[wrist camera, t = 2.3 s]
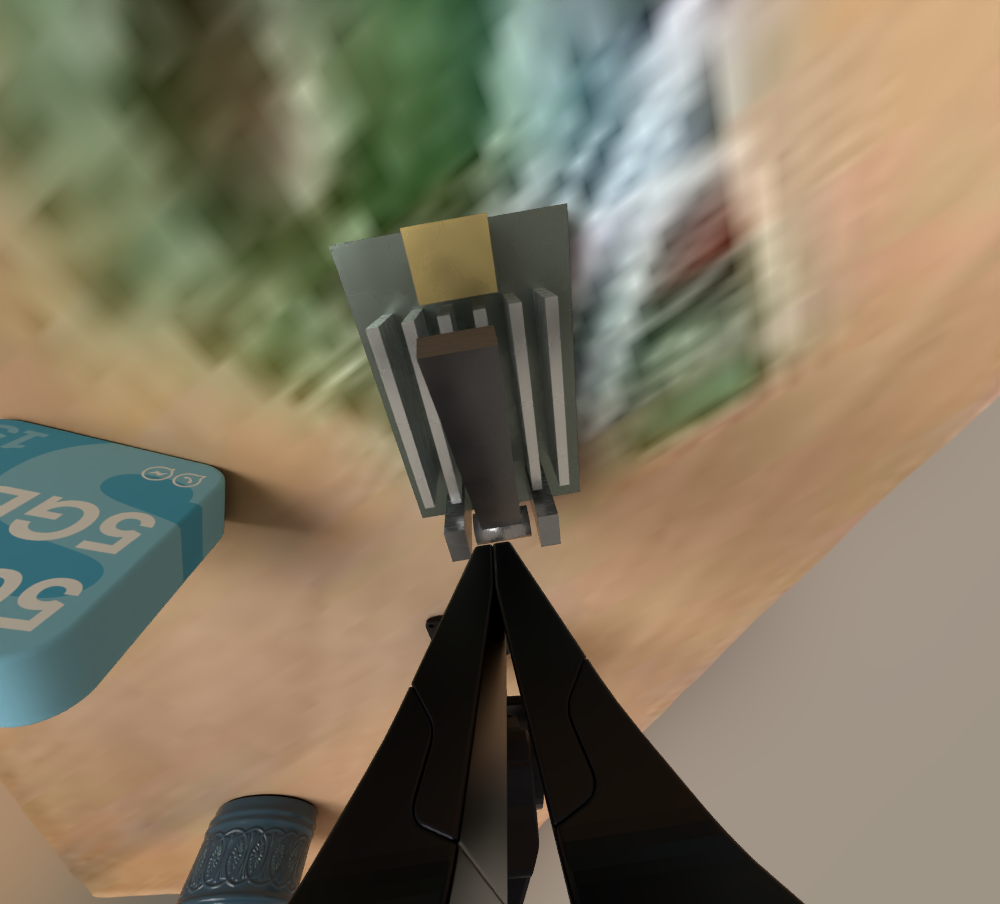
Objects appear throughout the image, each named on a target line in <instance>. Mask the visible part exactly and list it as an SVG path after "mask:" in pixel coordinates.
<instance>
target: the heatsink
mask: <svg viewBox="0 0 1000 904" xmlns="http://www.w3.org/2000/svg"><path fill="white" fill-rule="evenodd" d="M400 230H401V233H396V234H391V235H385V236H379V237H374V238H368V239H363V240H357V241H351V242H346V243H340V244H334V245H329V247H330V250H331V253H332V256H333V259H334V262H335V265H336V268H337V271H338V273H339V276H340V279H341V282H342V285H343V288H344V291H345V294H346V297H347V300H348V302H349V305H350V308H351V311H352V314H353V317H354V320H355V323H356V326H357V329H358V331H359V334H360V337H361V340H362V343H363V346H364V349H365V352H366V355H367V358H368V361H369V363H370V366H371V369H372V372H373V375H374V378H375V381H376V384H377V387H378V390H379V392H380V395H381V398H382V401H383V404H384V407H385V410H386V413H387V416H388V419H389V421H390V424H391V427H392V430H393V433H394V436H395V439H396V442H397V445H398V448H399V451H400V453H401V456H402V459H403V462H404V465H405V468H406V471H407V474H408V477H409V480H410V482H411V485H412V488H413V491H414V494H415V497H416V500H417V503H418V506H419V509H420V511H421V514H422V517H423V518H426V517H432V516H438V515H444V514H445V526H444V535H445V538H446V542H447V545H448V548H449V551H450V554H451V557H452V561H453V562H454V561H460V560H466V559H470V557H471V555H472V513H471V510H473V509H474V508H473V505H472V502H471V500H470V497H469V495H468V492H467V489H466V487H465V484H464V482H463V479H462V476H461V474H460V471H459V469H458V466H457V463H456V461H455V458H454V456H453V453H452V450H451V448H450V445H449V443H448V440H447V437H446V435H445V432H444V430H443V427H442V424H441V422H440V419H439V417H438V414H437V411H436V409H435V406H434V404H433V401H432V398H431V396H430V393H429V391H428V388H427V385H426V383H425V380H424V378H423V375H422V372H421V370H420V367H419V364H418V362H417V359H416V338H421V337H426V336H432V335H438V334H444V333H449V332H455V331H461V330H467V329H472V328H478V327H484V326H490V325H494V329H495V334H496V339H497V344H498V351H499V359H500V366H501V373H502V381H503V388H504V396H505V403H506V410H507V418H508V425H509V433H510V440H511V448H512V455H513V462H514V470H515V477H516V485H517V492H518V499H519V502H521V501H527V500H530V502H531V506H532V510H533V514H534V518H535V522H536V526H537V531H538V535H539V539H540V543H541V547H544V546H550V545H556V544H561V541H560V529H559V518H558V512H557V509H556V506H555V503H554V500H553V497H552V496H556V495H562V494H568V493H574V492H580V482H579V459H578V437H577V414H576V392H575V369H574V347H573V324H572V302H571V279H570V257H569V234H568V212H567V203H566V204H561V205H555V206H549V207H544V208H538V209H532V210H527V211H521V212H515V213H510V214H504V215H498V216H493V217H487V213H483V214H478V215H472V216H466V217H461V218H455V219H449V220H444V221H438V222H432V223H427V224H421V225H415V226H410V227H404V228H400Z"/></svg>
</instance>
